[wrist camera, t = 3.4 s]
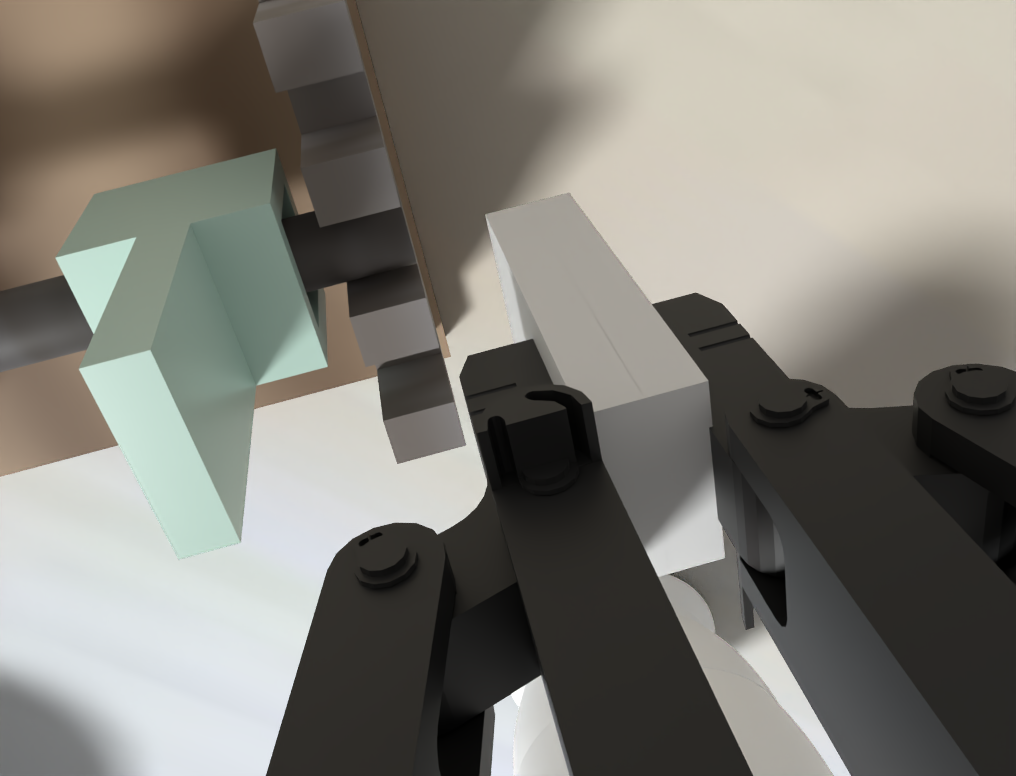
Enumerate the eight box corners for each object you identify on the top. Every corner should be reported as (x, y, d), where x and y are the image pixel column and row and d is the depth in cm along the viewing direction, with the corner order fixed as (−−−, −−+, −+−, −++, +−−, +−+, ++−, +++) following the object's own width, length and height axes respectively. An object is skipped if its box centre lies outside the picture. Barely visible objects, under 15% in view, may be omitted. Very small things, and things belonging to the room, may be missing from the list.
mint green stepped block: (276, 148, 20) (256, 322, 13) (325, 293, 22) (333, 517, 15) (94, 193, 20) (-30, 397, 13) (160, 337, 22) (84, 585, 15)
